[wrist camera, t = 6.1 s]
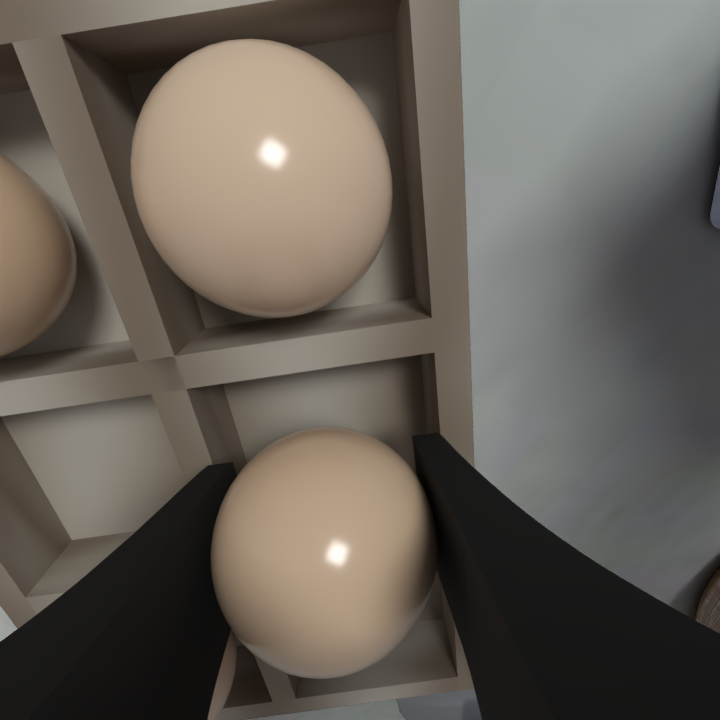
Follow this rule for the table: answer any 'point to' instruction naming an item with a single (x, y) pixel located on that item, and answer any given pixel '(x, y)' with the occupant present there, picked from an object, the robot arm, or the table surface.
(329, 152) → the egg
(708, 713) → the robot arm
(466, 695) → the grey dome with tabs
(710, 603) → the planter
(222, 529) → the egg loose
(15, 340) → the egg
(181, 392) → the carton
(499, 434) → the table surface
